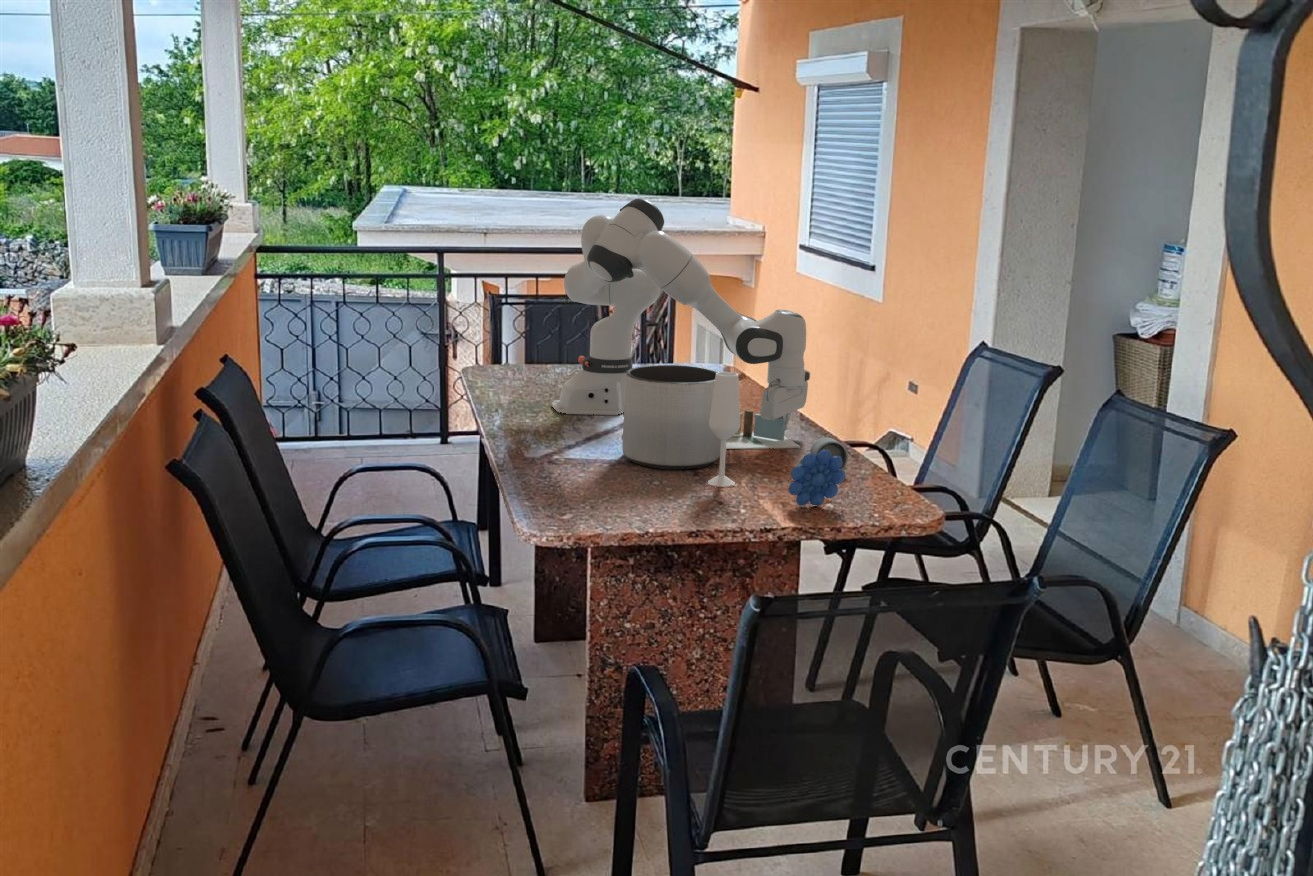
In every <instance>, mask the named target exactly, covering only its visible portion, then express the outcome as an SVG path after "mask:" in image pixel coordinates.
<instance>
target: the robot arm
mask: <svg viewBox="0 0 1313 876" xmlns="http://www.w3.org/2000/svg"><path fill="white" fill-rule="evenodd" d="M664 226H665V219H664V216H663V213H662V211H661V210H660V209H659V208H658V207H657V206H656V205H655V204H654V203H652V202H651V201H649V200H648V199H645V198H635V199H632V200H631V201H630V202H628V203H627V204H625V205H624V206H622V208H620V209H619V212H618V213H617V214H616V215H615V216H614V218H613V217H610V216H608V215H604V214H600V215H599V214H598V215H594V216H592V217H590V218H589V219H587V221H586V222H585V223H584V225H583V227H582V231H581V235H580V236H581V239H580V243H581V251H582V256H583V261H582V262H579V263H576V264H573V265H571V266H570V267H569V269H568V270H567V272H566V273H565V276H564V279H563V287H564V291H565V293H566V296H567V297H568V298H569V299H570V301H572V302H576V303H581V304H585V305H592V306H609V307H610V306H611V307H614V308H613V313H612V314H611V315H609V316H606V317H604V318H602V319H600V320H598V321H596V322H595V323H593V325H592V327H591V329H590V333H589V334H590V335H589V355H588V356H587V357H585V356H584V355H580V356H579V357H578V358H577V360H578V363H579V364H581V366H582V367H581V368H582V369H581V370H580V371H579V372H577V373H576V374H575V375H573V376H572V377H571V378H569V379H568V380H567V381H565V382H564V383H563V385H562V387H561V391H560V397H559V399H557V400H556V399H555V400H554V401H552V403H551V408H552V407H553V408H554V409H555V410H556V411H555V410H554V409H553V408H552V409H553V410H554V411H555V412H557V413H560V412H562V413H561V414H563V413H566V415H593V414H594V415H595V416H596V415H598V416H601V415H602V416H619V415H618V414H620V415H622V414H623V413H622V412H624V404H625V380H626V371H628V370H629V369H632V368H633V358H632V356H631V355H632V354H631V353H632V342H633V340H632V339H633V333H634V328H635V325H636V322H637V321H638V319H639V317H640V316H641V315H642V314H643V312H644V311H646V310H647V309H648V308H649V307H651V306H652V305H653V304H654V303H655V302H657V300H658V298H659V297H660V294H661V290H662V291H663V292H664V293H665V294H666V295H668V297H671V298H672V299H673V300H674V301H676V302H678V303H679V304H681V305H683V306H688V307H692V308H694V309H695V310H696V311H697V312H699V313H700V314H701V315H703V316H704V318H706V319H707V320H708V321H709V322H710V324H712V325H713V326H714V327H715V328H716V329H717V330H718V331H719V332H720V334H721V337H722V339H723V341H724V344H725V346H726V349H727V350H728V351H729V352H730V353H732V354H733V355H734V356H736V357H737V358H739V359H740V360H741V361H742V362H744V363H746V364H749V365H757V364H765V363H766V364H767V378H766V381H767V384H768V386H767V387H765V388H764V389H763V392H762V396H761V405H760V410H759V411H760V413H759V414H760V415H761V418H762V419H766V420H775V419H778V418H784V419H786V421H785V432H786V431H787V430H788V423H789V421H790V418H791V413H793V412H795V411H798V410H800V409H803V408H804V407H805V406H806V403H807V397H808V390H809V389H808V387H809V383H808V381H810V379H811V372H810V371H808V370H807V369H805V361H804V360H805V359H804V354H805V351H806V347H807V324H806V319H805V318H804V316H803V315H801V314H800V313H798V312H794V311H791V310H787V309H776V310H774V312H773V313H771V314H770V315H768V316H765V317H764V318H762V319H760V320H756V319H755V318H753V317H750V316H747V315H744V314H741V313H739V312H738V311H736V310H735V309H734V308H733V307H732V306H731V305H730V304H729V303H728V302H727V301H726V300H725V299H724V298H723V297H722V296H721V295H720V294H719V293H718V292H717V291H716V290H715V288H714V285H712V279H711V275H710V273H709V272H708V270H707V268H706V267H704V265H703V264H702V262H701V261H700V260H699V259H698V257H696V256H695V255H694V254H693V253H692V252H691V251H690V250H689V249H687V248H686V247H685V246H684V245H683V244H681V243H680V242H679V241H678V240H676V239H675V238H673V237H672V236H670V235H669V234H668V233H666V232H664V231H662V230H663V228H664ZM621 413H622V414H621Z"/></svg>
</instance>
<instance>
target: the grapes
mask: <svg viewBox="0 0 1313 876" xmlns="http://www.w3.org/2000/svg"><path fill="white" fill-rule="evenodd" d="M801 459H802V465H803V466H797V465H796V466H794V467H793V468H792V470H791V472H790V477H791V479H792V480H793V481H792V482H790V484H789V486H788V493H789V494H790V495H791V496H792V495H793V496H796V498H795V500H796V503H797V505H799V506H806V505H807V504H810V505H811V504H812V505H817V506H818V505H820V506H822V504H823V503H824V502H825V498H826V499H832V498H834V497H836V495H837V494H838V492H839V488H838V485H840V484H841V483H843V482H844V481H845V479H846V473H845V470H844V469H843V470H841V469H839V468H841V466H842V464H843V462H842V458H841V457H840V456H833V457H832V458H831V452H830V451H829V450H822V451H820V452H819V453H818V454H817V457H816V455H815V454H811V453H810V452H809V453H807V454H805V455H804V456H803V458H801ZM812 505H811V506H812ZM818 507H819V506H818Z"/></svg>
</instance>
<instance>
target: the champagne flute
mask: <svg viewBox="0 0 1313 876" xmlns="http://www.w3.org/2000/svg"><path fill="white" fill-rule="evenodd" d="M717 372H718V373H716V376H715V383H714V390H713V397H712V404H711V411H710V418H709V427H710V429H711V431H712V432H713V433H714V434H715V435H716V436H717V438H719V439H720V440H721V447H720V457H719V467H718V469H719V470H718V475H717V476H715V477H713V478H711V479H709V480H707V481H708V484H710V485H717V486H730V485H735V483H736V482H735V481H733V480H732V479H731V478H729V477H728V476H726V475H725V473H726V455H727V454H726V452H727V450H726V440H728V439H730V438H731V437H732V436H733V435H734V434H735V433H736V432H737V431H738V429H739V428H740V413H741V412H740V411H741V410H740V384H739V373H737V372H731V371H730V372H729V371H717Z"/></svg>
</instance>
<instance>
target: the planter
mask: <svg viewBox="0 0 1313 876" xmlns="http://www.w3.org/2000/svg"><path fill="white" fill-rule="evenodd" d="M718 372H719V371H715V370H713V369H709V368H704V367H697V366H690V365H676V364H675V365H673V364H658V365H657V364H655V365H644V366H636V367H632V369H629V370H628V371H626V380H625V404H624V413H623V424H622V425H623V426H622V446H621V447H622V453H623V455H624V456H625V458H627V459H628V460H629V461H631V462H632V463H634V464H637V465H640V466H642V467H643V466H644V467H648V468H652V467H655V468H654V469H660V468H661V469H664V470H693V469H694V468H695V469H699V468H704V467H707V466H709V465H712V464H713V463H716V461H718V460H719V459H720V447H721V440H720V439H719V438H717V436H716V435H715V434H714V433H713V432H712V431H711V429H710V427H709V418H710V411H711V404H712V397H713V390H714V383H715V376H716V373H718ZM695 469H694V470H695Z"/></svg>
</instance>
